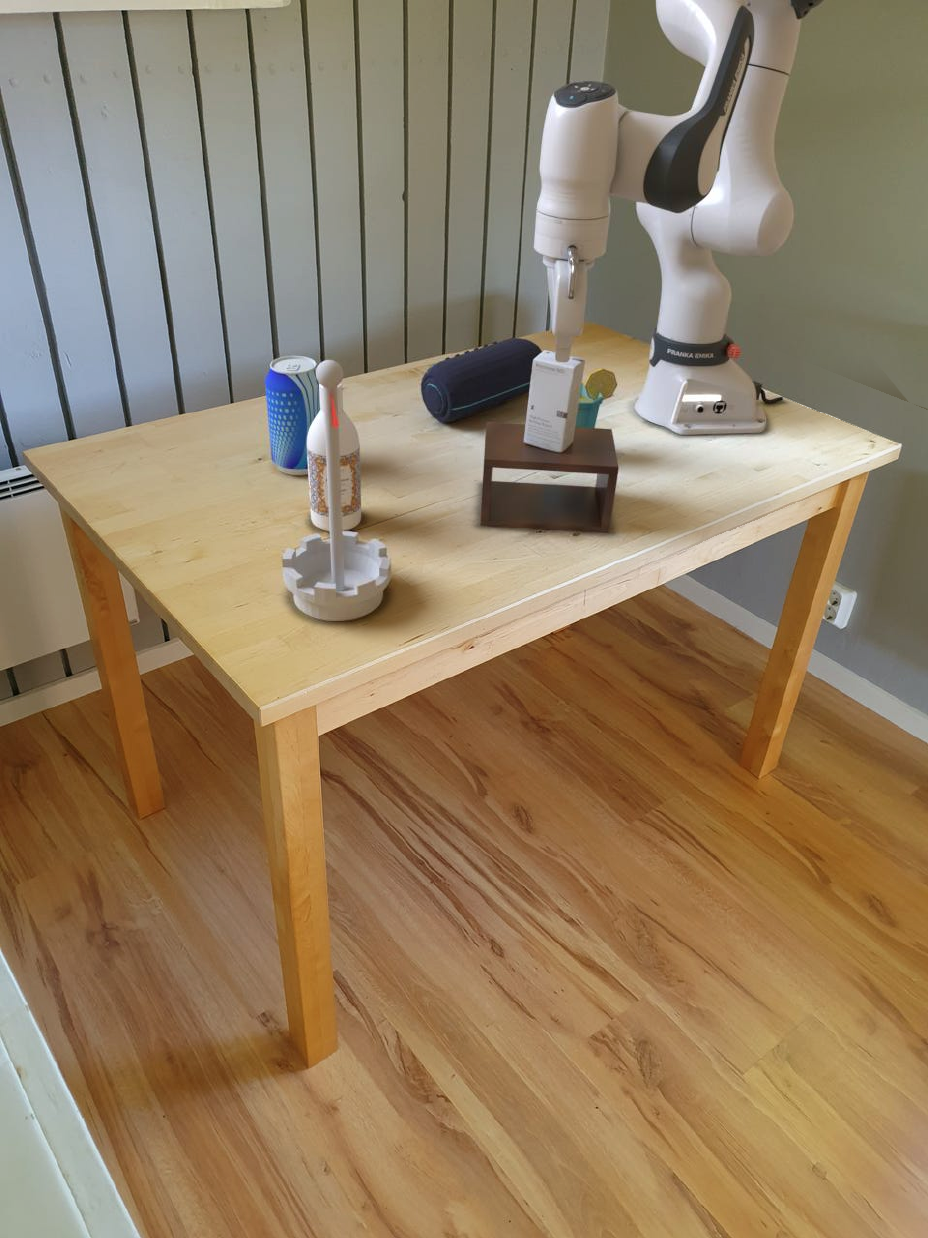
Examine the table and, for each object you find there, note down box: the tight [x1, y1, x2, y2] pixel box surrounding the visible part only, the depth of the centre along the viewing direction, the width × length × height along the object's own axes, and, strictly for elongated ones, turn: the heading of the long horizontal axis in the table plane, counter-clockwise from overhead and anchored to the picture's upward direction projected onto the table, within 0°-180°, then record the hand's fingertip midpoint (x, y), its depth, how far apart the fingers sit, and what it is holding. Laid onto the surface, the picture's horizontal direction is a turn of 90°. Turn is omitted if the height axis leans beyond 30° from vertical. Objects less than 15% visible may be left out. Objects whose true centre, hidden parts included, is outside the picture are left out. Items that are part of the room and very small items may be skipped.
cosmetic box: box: [524, 349, 586, 452], centre depth 129 cm, size 6×4×12 cm
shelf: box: [479, 421, 620, 534], centre depth 136 cm, size 18×12×10 cm, turn 87°
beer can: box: [264, 355, 320, 476], centre depth 142 cm, size 8×8×16 cm
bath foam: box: [307, 382, 362, 532], centre depth 128 cm, size 7×7×20 cm
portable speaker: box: [420, 337, 543, 423], centre depth 164 cm, size 25×10×10 cm, turn 136°
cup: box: [575, 367, 618, 428], centre depth 148 cm, size 14×8×15 cm, turn 119°
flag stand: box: [281, 359, 392, 622], centre depth 110 cm, size 13×13×30 cm
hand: (560, 346), depth 125 cm, fingers open, 8 cm apart
